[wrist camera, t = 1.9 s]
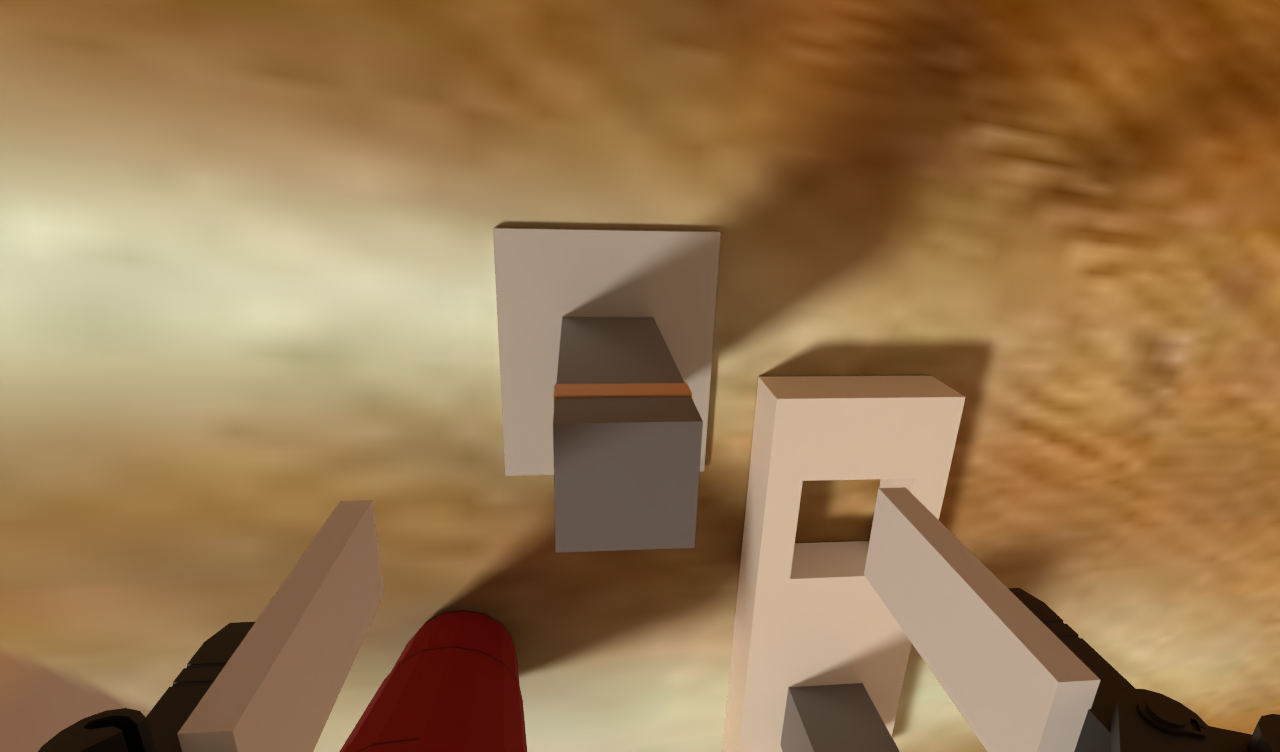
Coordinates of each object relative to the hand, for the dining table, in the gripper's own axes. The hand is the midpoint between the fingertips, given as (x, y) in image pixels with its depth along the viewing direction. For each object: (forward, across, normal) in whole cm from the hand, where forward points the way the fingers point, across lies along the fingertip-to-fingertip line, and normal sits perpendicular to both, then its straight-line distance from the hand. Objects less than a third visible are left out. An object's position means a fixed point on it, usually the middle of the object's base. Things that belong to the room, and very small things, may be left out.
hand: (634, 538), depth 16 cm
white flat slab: (+14, 0, 0) cm, 14 cm away
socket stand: (+15, +12, -14) cm, 23 cm away
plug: (+14, 0, 0) cm, 14 cm away
